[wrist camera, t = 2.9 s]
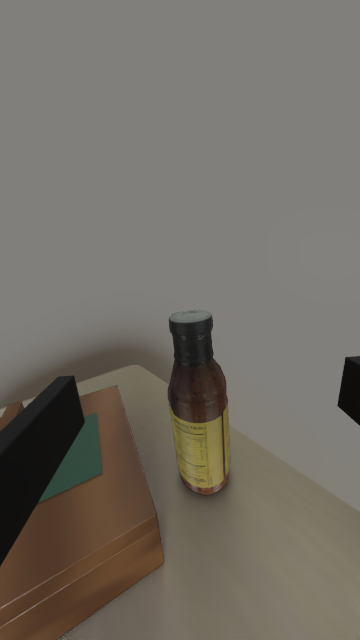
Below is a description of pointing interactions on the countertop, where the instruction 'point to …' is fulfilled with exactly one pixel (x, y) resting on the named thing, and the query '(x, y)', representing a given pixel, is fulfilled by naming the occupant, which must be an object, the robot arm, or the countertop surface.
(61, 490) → the brown wooden box
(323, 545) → the countertop surface
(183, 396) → the sauce bottle
